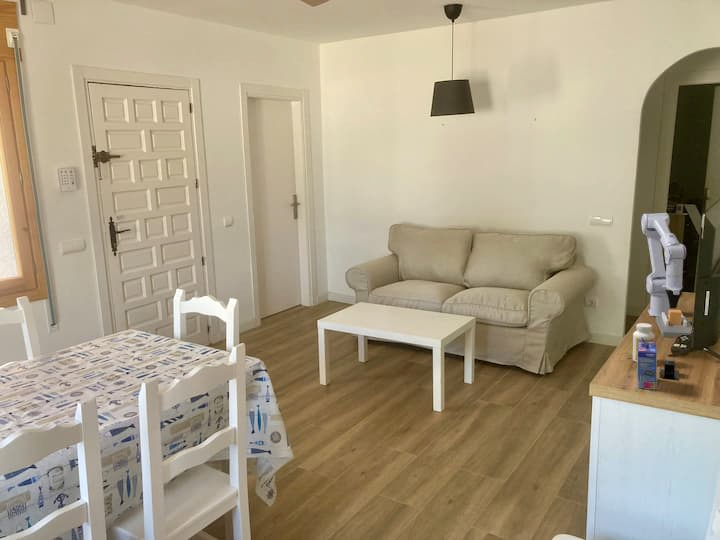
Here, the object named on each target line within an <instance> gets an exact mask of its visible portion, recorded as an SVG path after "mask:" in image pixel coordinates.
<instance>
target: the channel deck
mask: <svg viewBox="0 0 720 540" xmlns="http://www.w3.org/2000/svg"><path fill="white" fill-rule="evenodd" d="M655 322H656V324H657V327H658V329H659V331H660V334H661V336H662V337H663V338H676V337H679V336H681V335H690V334H691V330H692V327H693V325H692V324H691V322H690V321H689V319H688V317H686V316H684V314H682V316H681V325H671V324H669V321H668V316H666V315H665V313H664V312H662V316H655Z"/></svg>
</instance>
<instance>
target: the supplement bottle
mask: <svg viewBox="0 0 720 540" xmlns="http://www.w3.org/2000/svg"><path fill="white" fill-rule="evenodd" d="M652 329H653V326H652V324H649V323H645V322H639V323H637V324H636V330H635V331H634V332H633V333H632V361H634V362H635V363H637V346H638V341H642V338H643V339H644V341H646V342H656V338H655V337H656V335H655V333H654V332H652Z"/></svg>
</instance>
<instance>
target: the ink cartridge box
mask: <svg viewBox="0 0 720 540" xmlns="http://www.w3.org/2000/svg"><path fill="white" fill-rule="evenodd" d="M657 352H658V351H657V344H656V341H655V342H646V341H644V339H643V338H642V341H638V346H637V362H636V366H637V367H636V368H637V369H636V370H637V371H636V375H637V388H638V387H639V388H638V389H641V388H645V389H644V390H650V389H653V390H652V391H657V390H658V372H657V370H658V358H657V357H658V356H657V355H658V353H657Z"/></svg>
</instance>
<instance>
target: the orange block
mask: <svg viewBox="0 0 720 540" xmlns="http://www.w3.org/2000/svg"><path fill="white" fill-rule="evenodd" d="M682 315H683V313H682V311H681V309H669V313H668V321H669V324H671V325H681V316H682Z"/></svg>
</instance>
